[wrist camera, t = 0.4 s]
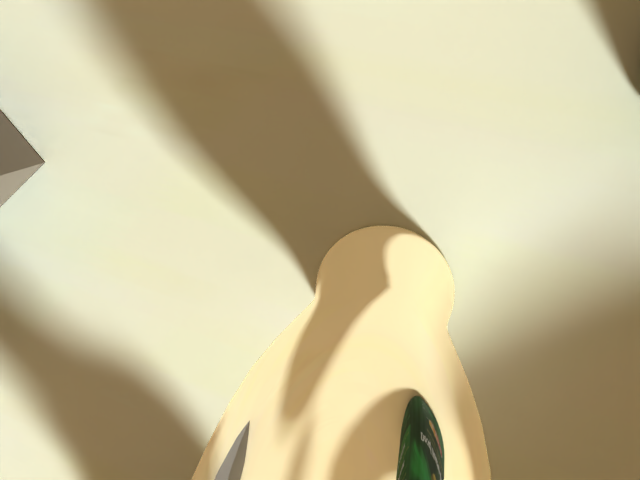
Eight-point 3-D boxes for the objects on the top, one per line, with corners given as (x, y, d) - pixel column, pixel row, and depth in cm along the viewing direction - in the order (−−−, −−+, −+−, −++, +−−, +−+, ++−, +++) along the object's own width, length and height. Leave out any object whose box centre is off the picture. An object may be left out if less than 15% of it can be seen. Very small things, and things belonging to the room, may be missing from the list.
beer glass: (280, 256, 23) (64, 552, 10) (417, 185, 21) (388, 444, 7) (356, 375, 25) (261, 781, 11) (492, 321, 22) (588, 753, 9)
